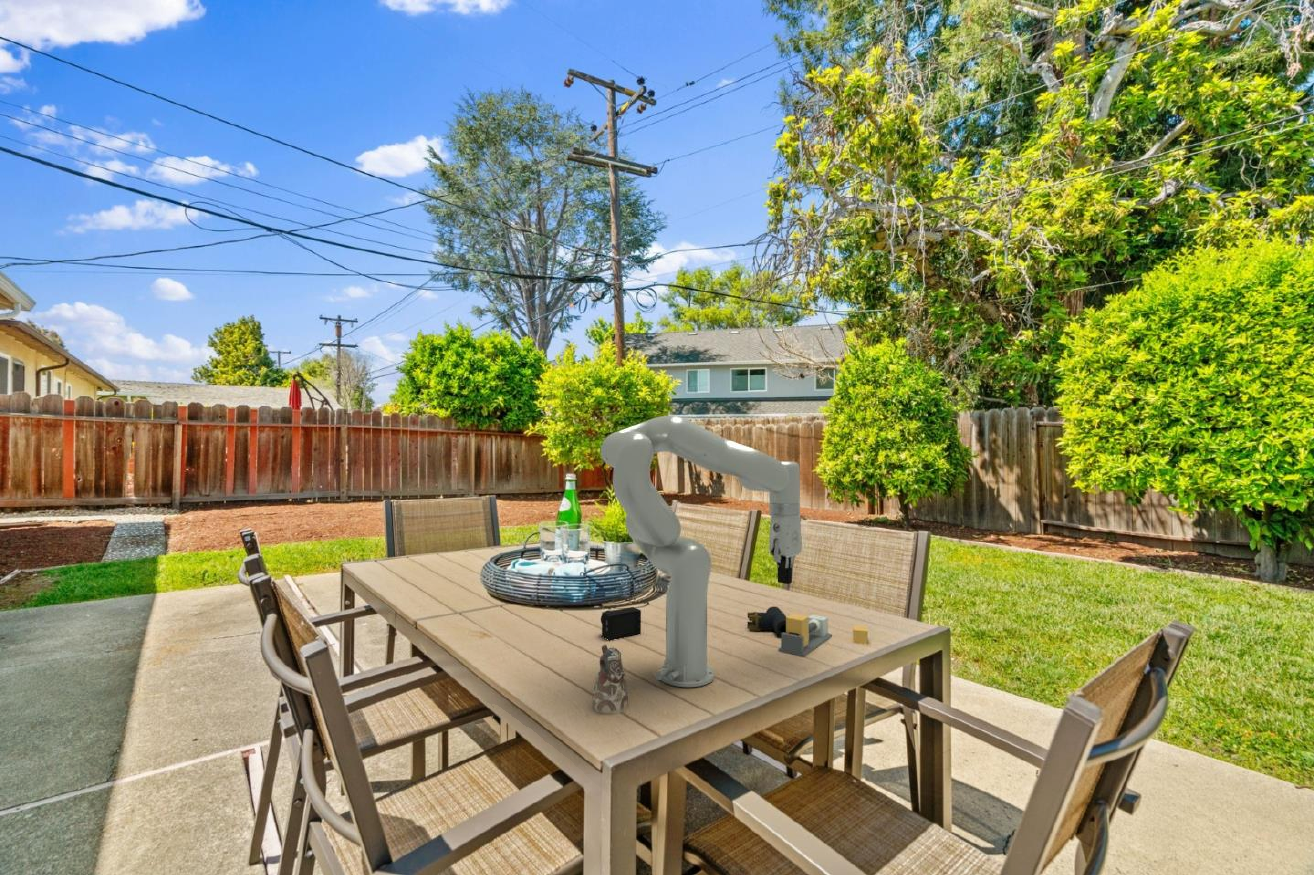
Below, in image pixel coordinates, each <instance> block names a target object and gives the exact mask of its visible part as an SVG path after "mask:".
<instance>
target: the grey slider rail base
mask: <svg viewBox="0 0 1314 875" xmlns="http://www.w3.org/2000/svg"><path fill="white" fill-rule="evenodd" d="M807 616H808V617H809V644H808V645H807V646H805V647H804V637H803V636H799V634H797V633H794V634H789V633H784V632H783V633H781V637H780V638H781V640H780V641H781V645H780V647H778V652H782V653H786V654H790V655H794V656H799V657H803V658H804V657H806V656H807V655H809V654H810V653H811V652H813V651H814V650H816V649H817V648H818V647H820V646H821V645H823V644H824V643H825V642H826V641H828V640H830V639H831V638H832V637H833V634H832V633H829V618H828V617H827V616H822V615H817V614H810V615H807ZM830 637H831V638H830ZM816 647H817V648H816ZM815 648H816V649H815Z"/></svg>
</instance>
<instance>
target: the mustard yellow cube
mask: <svg viewBox="0 0 1314 875" xmlns="http://www.w3.org/2000/svg"><path fill="white" fill-rule="evenodd" d="M868 631H869V630H868V628H867V626H865V625H852V641H853V642H854V643H853V642H852V643H853V644H859V643H869V642H868V641H869V640H868V639H869V638H868Z"/></svg>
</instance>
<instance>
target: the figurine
mask: <svg viewBox="0 0 1314 875" xmlns="http://www.w3.org/2000/svg"><path fill="white" fill-rule="evenodd" d="M601 650H602V651H601V652H602V655H601V656H600V658H599V667H600V669H599V671H598V672H597V675H596V679H595V682H594V683H595V684H594V688H593V697H592V706H593V709H594V711H595V712H597V713H599V714H604V715H605V714H606V715H607V714H609V715H616V714H617V715H618V714H620V713H623V712H625V711H626V710H627V708H629V703H630V702H629V696H628V688H627V687H628V686H627V676H626V674H627V672H626V671H625V670H624V668H623V667H624V666H623V662H622V661H623V660H622V652H620V651H619V650H618V649H617V648H615V647H608V646H607V644H603V645H601Z"/></svg>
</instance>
